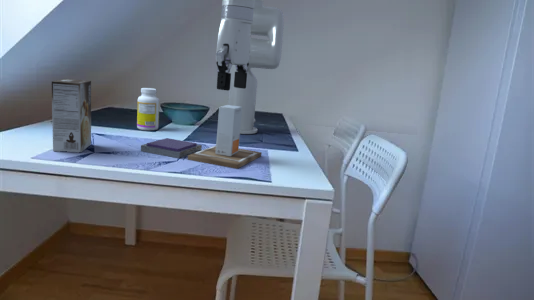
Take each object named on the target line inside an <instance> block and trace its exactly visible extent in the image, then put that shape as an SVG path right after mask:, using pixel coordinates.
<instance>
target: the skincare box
mask: <svg viewBox="0 0 534 300" xmlns="http://www.w3.org/2000/svg"><path fill="white" fill-rule="evenodd" d="M241 115H242V107H239V106H232V105H228V104H226V105H222V106H219V107H218V115H217V117H218V118H217V119H218V120H217V131H216V142H215V143H216V144H215V146H216V153H215V154H218V155H224V156H232V155H234V154H236V153H238V148H239V147H240V136H241V134H240V127H241ZM239 149H240V148H239Z"/></svg>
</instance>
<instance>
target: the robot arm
mask: <svg viewBox="0 0 534 300" xmlns="http://www.w3.org/2000/svg"><path fill="white" fill-rule="evenodd" d="M220 15H221V16H220V25H219V28H218V34H217V41H216V42H217V43H216V50H215V51H216V52H215V63H216V66H217V67H216V71H217V76H216V77H217V78H216V90H221V91H227V92H228V99H227V105H232V106H239V107H242V115H241V127H240V135H241V134H242V135H252V134H256V133H258V129H259V128H257V127H255V123H256V118H255V115H256V114H255V113H256V100H257V92H258V91H257V89H258V79H257V77H256V75H255V74H254V72H253V71H252V69H261V70H262V69H264V70H276V69H278V68H279V66H280V64H281V60H282V51H283V50H282V49H283V42H284V41H283V37H284V26H285V17H284V12H283V11H282V10H281V9H280V8H278V7H276V6H275V7H274V6H265V5H264V0H222V1H221V14H220ZM251 36H261V37H267V38H268V39H261V38H254V37H253V38H252V37H251Z"/></svg>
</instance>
